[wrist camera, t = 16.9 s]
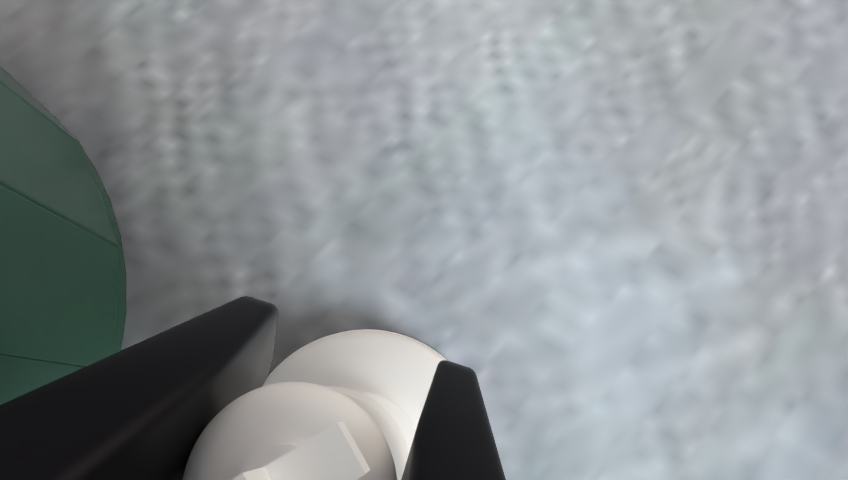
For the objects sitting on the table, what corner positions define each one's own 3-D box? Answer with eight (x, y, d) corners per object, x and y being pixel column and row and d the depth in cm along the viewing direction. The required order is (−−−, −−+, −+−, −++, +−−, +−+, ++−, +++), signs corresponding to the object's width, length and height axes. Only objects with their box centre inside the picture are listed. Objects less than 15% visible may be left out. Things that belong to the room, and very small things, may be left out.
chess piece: (536, 497, 14) (766, 664, 4) (317, 640, 14) (32, 1189, 4) (407, 286, 15) (366, 50, 6) (198, 410, 15) (-257, 390, 5)
